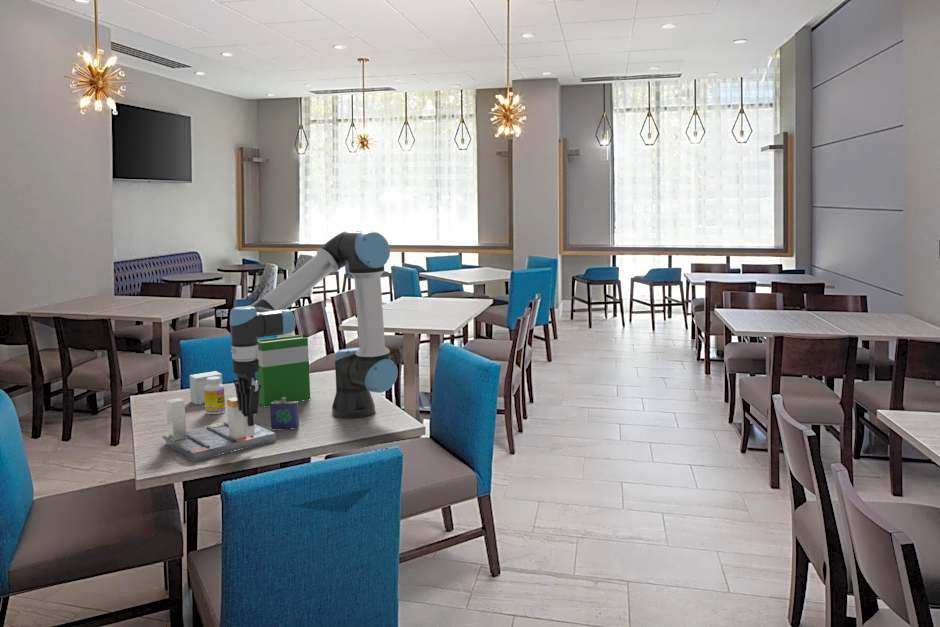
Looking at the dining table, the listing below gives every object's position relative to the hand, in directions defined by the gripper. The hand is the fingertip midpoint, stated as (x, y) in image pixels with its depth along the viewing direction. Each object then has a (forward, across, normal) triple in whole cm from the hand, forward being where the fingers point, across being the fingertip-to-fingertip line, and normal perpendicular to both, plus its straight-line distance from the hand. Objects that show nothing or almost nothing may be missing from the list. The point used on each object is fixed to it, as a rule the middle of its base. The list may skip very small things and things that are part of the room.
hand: (249, 435), depth 221 cm
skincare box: (+5, -65, +15) cm, 67 cm away
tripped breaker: (+2, -8, 0) cm, 8 cm away
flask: (+5, -13, +19) cm, 23 cm away
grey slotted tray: (+5, -14, -3) cm, 15 cm away
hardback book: (+5, -43, +36) cm, 56 cm away
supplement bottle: (+5, -47, +10) cm, 48 cm away
